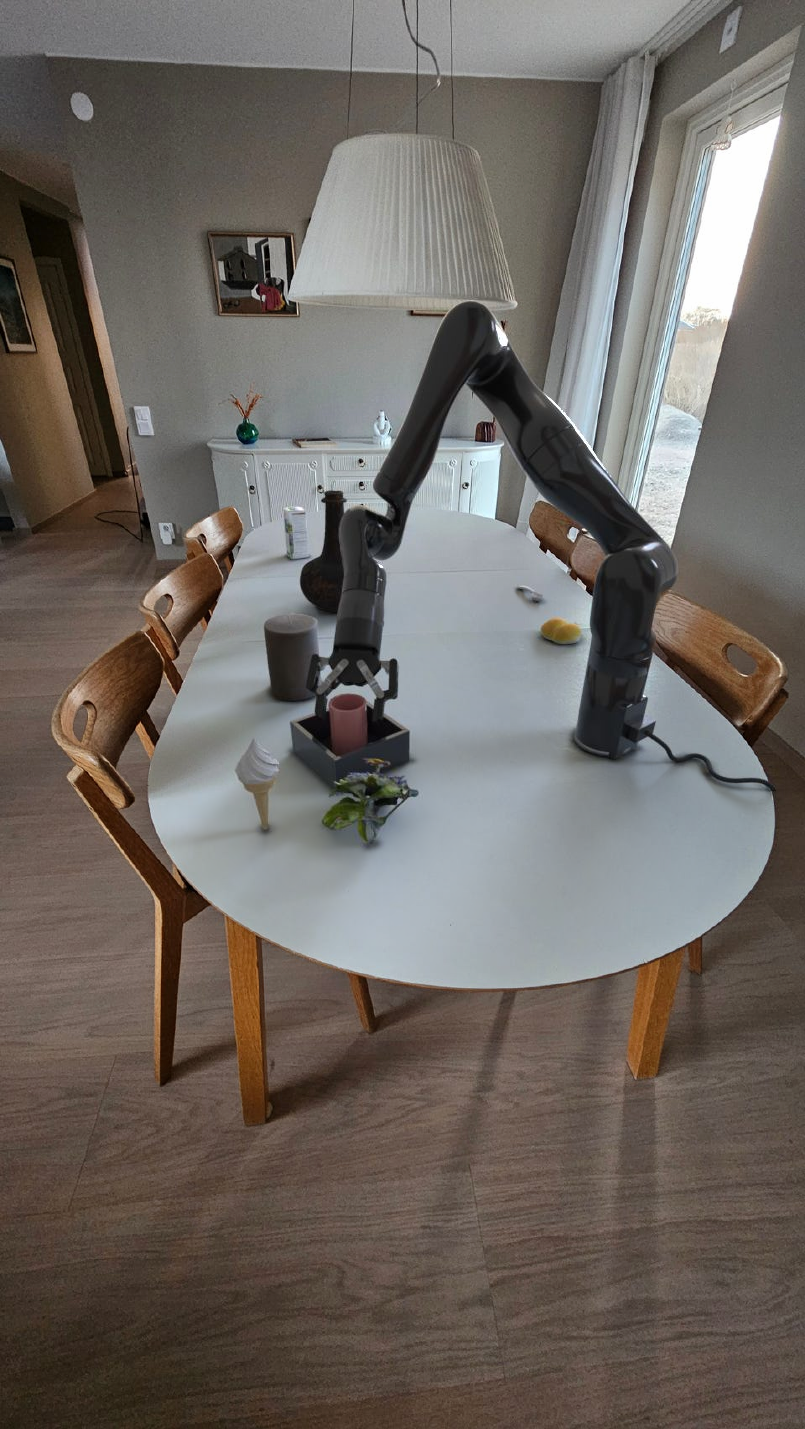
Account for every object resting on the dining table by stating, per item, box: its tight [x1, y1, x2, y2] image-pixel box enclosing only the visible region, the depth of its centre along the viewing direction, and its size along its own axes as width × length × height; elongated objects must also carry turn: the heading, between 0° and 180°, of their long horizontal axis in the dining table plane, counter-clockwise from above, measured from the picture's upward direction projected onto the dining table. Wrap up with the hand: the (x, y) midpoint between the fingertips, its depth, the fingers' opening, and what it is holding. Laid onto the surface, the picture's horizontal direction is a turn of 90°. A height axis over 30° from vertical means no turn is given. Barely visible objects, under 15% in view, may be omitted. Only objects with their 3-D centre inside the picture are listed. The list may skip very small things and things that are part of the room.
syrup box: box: [282, 506, 310, 560], centre depth 191 cm, size 6×6×14 cm
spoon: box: [517, 585, 545, 602], centre depth 164 cm, size 3×12×2 cm, turn 16°
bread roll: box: [540, 617, 583, 645], centre depth 140 cm, size 8×9×4 cm
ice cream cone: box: [234, 737, 280, 831], centre depth 81 cm, size 6×6×15 cm
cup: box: [328, 692, 368, 757], centre depth 98 cm, size 6×6×9 cm
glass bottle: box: [299, 489, 348, 613], centre depth 151 cm, size 18×18×28 cm
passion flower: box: [321, 758, 420, 845], centre depth 84 cm, size 11×11×12 cm
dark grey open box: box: [289, 700, 411, 790], centre depth 99 cm, size 14×14×6 cm
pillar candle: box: [263, 612, 322, 702], centre depth 116 cm, size 10×10×15 cm
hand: (348, 722), depth 96 cm, fingers open, 8 cm apart
